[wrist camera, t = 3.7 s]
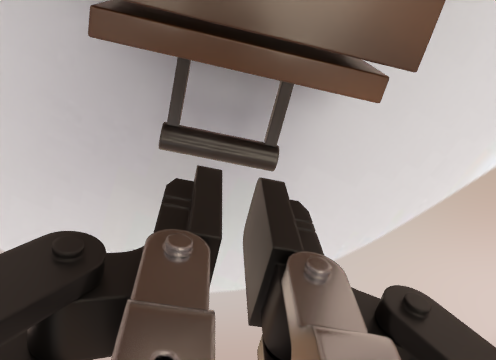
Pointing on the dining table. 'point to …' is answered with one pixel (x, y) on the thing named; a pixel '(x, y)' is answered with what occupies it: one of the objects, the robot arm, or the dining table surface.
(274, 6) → the cabinet
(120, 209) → the dining table surface
